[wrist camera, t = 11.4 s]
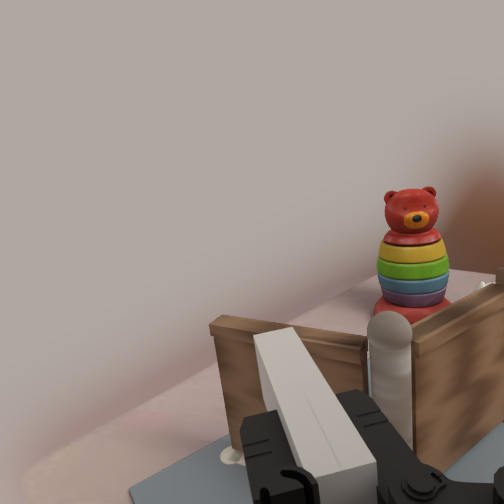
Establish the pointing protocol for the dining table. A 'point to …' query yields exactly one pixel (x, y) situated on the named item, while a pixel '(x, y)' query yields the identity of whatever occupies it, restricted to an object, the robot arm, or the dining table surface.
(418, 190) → the stacking bear
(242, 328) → the hinged fence panel
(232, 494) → the card
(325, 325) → the dining table surface
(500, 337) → the fixed fence
